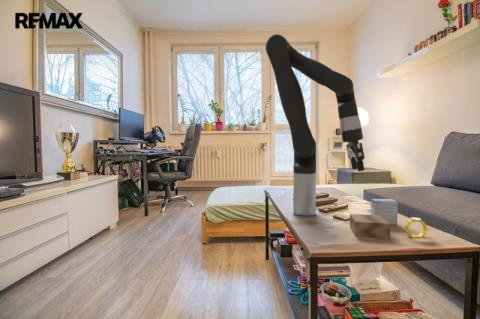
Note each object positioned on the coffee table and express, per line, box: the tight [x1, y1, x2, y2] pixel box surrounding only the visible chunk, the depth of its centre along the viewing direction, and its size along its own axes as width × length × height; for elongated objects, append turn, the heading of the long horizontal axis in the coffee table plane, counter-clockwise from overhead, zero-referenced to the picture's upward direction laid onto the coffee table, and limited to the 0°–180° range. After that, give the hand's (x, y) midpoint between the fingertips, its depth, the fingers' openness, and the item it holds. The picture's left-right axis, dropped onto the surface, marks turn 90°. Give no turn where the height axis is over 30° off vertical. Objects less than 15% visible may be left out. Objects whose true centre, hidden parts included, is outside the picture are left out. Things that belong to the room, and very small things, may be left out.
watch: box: [404, 217, 428, 238], centre depth 85 cm, size 6×3×6 cm, turn 88°
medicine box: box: [370, 198, 399, 226], centre depth 99 cm, size 8×4×9 cm, turn 84°
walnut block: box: [349, 213, 391, 240], centre depth 89 cm, size 10×10×5 cm
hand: (358, 169), depth 106 cm, fingers open, 8 cm apart
